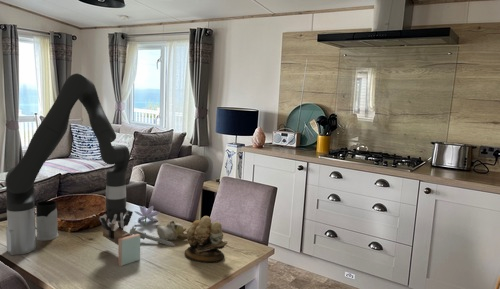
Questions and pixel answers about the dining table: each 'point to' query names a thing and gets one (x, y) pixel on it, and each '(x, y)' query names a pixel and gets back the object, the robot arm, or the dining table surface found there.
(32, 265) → the dining table surface
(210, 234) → the owl figurine
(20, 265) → the dining table surface
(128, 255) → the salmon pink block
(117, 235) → the walnut bar
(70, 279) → the dining table surface
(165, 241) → the caliper
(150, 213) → the water lily
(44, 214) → the glass holder
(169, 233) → the ceramic sculpture
